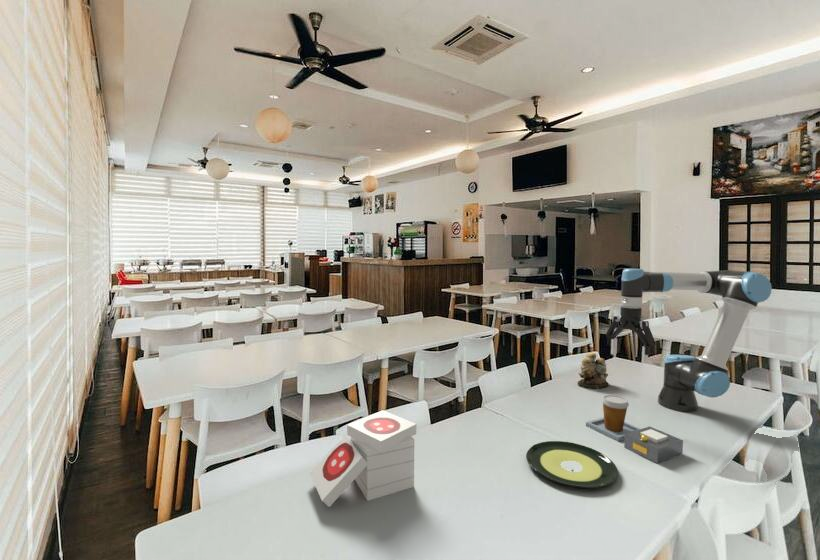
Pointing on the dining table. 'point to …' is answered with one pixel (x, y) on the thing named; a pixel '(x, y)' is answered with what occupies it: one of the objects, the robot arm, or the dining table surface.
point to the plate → (552, 453)
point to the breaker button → (654, 436)
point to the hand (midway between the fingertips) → (628, 358)
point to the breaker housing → (653, 446)
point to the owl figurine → (593, 372)
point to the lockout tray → (600, 427)
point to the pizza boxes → (369, 459)
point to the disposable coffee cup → (614, 412)
